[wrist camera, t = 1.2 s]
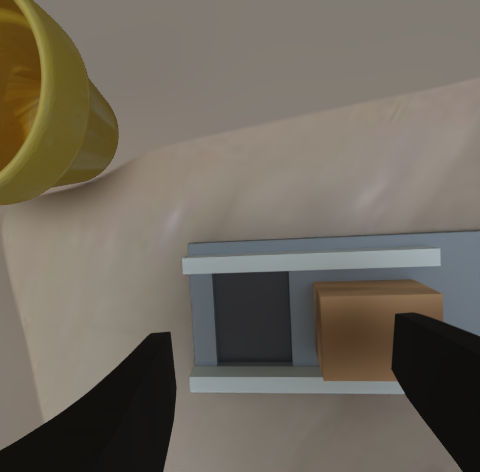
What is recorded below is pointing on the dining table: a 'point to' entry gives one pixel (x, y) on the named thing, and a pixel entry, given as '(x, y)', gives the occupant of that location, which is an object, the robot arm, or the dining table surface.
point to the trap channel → (308, 302)
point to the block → (365, 324)
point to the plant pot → (47, 108)
